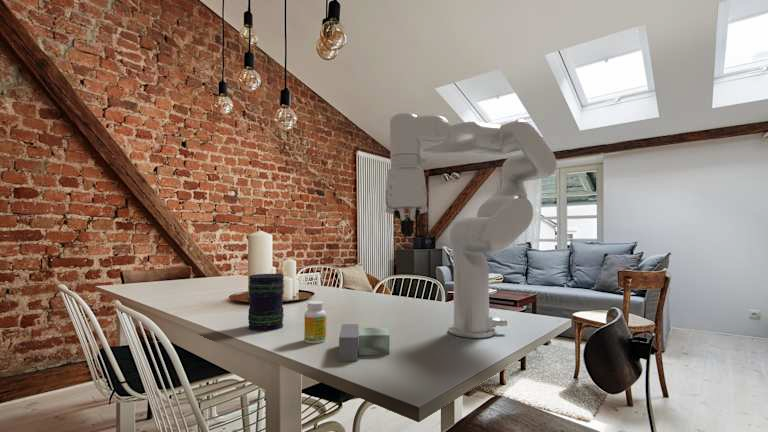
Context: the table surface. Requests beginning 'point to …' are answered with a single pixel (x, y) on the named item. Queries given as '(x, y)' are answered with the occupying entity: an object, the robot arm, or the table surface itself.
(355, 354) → the gray rectangular block
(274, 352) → the table surface
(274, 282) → the storage jar
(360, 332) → the sage block
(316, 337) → the supplement bottle
